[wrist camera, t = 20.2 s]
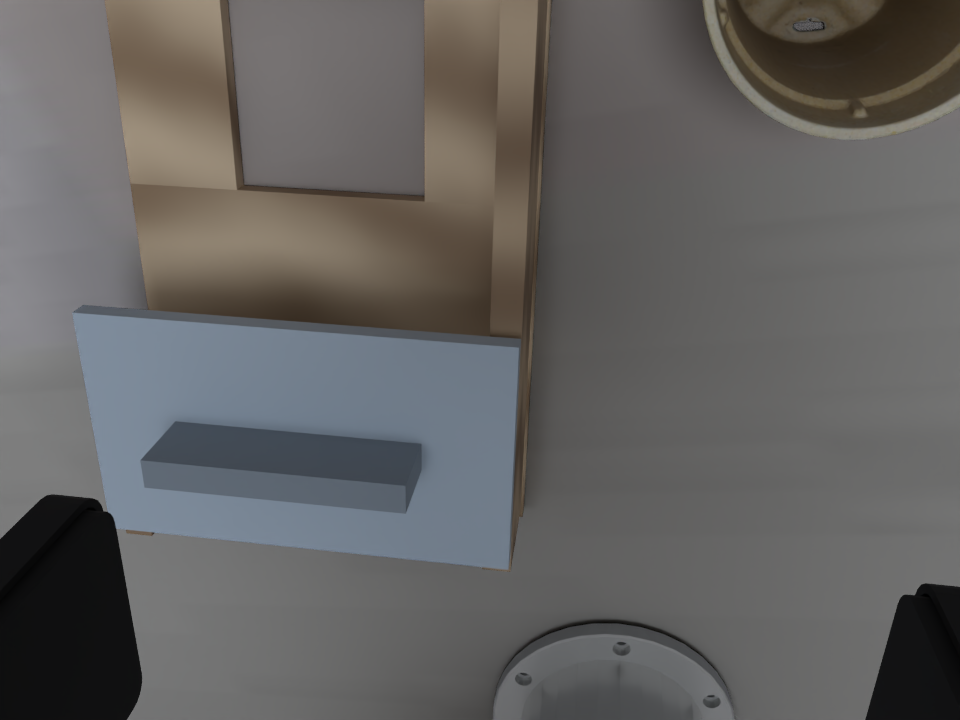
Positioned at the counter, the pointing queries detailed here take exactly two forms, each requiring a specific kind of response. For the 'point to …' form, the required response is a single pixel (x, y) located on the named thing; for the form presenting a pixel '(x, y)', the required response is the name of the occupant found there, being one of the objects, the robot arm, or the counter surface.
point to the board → (339, 214)
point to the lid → (305, 433)
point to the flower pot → (842, 62)
